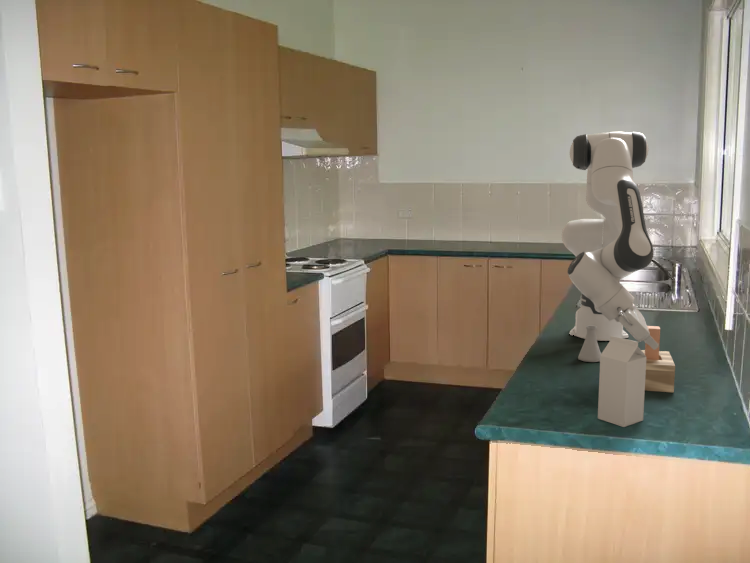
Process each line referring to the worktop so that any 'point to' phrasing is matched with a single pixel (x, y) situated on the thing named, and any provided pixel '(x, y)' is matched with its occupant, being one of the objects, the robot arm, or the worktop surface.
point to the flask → (590, 346)
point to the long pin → (655, 335)
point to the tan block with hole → (660, 373)
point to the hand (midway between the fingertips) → (654, 343)
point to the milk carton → (622, 382)
